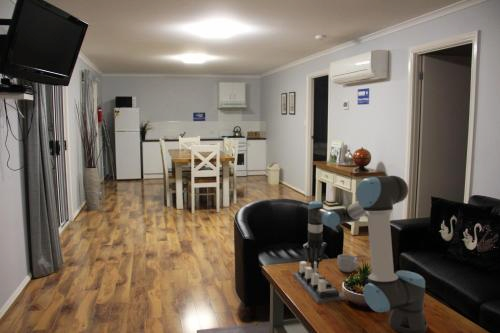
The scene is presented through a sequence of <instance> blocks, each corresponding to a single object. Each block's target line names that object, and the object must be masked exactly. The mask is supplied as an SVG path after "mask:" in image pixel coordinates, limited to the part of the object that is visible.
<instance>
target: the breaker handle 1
mask: <svg viewBox="0 0 500 333" xmlns="http://www.w3.org/2000/svg"><path fill="white" fill-rule="evenodd" d="M305 267H308V264H307V261H306V260H302V261H299V270H300V271H301V272H302V273H303V272H305Z"/></svg>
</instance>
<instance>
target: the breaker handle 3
mask: <svg viewBox="0 0 500 333" xmlns="http://www.w3.org/2000/svg"><path fill="white" fill-rule="evenodd" d="M318 279H319V274H318V273H311V283H312V284H313V285H318Z"/></svg>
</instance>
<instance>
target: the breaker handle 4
mask: <svg viewBox="0 0 500 333" xmlns="http://www.w3.org/2000/svg"><path fill="white" fill-rule="evenodd" d="M318 290H319V291H320V292H325V291H326V281H325V280H324V279H318Z"/></svg>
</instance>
